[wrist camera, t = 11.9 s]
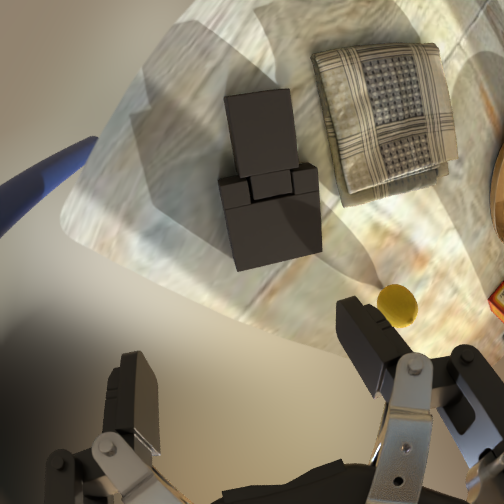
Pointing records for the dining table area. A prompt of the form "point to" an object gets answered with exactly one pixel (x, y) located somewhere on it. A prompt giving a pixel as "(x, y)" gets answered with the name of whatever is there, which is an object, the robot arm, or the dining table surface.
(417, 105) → the dish towel
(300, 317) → the dining table surface
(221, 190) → the notch pad
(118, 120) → the dining table surface
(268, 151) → the pad
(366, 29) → the dining table surface
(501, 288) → the baking soda box
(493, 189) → the plant saucer
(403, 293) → the lemon
